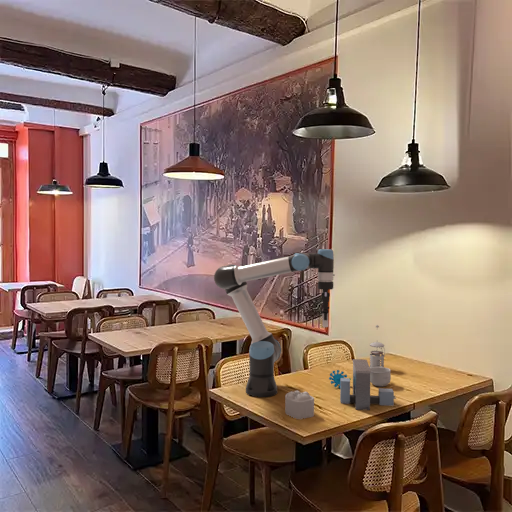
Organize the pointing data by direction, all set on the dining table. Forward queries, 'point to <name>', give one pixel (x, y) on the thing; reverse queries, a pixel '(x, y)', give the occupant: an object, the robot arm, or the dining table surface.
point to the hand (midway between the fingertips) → (325, 324)
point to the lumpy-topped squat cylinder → (299, 404)
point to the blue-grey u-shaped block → (382, 399)
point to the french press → (377, 355)
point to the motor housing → (361, 384)
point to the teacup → (380, 376)
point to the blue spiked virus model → (337, 378)
